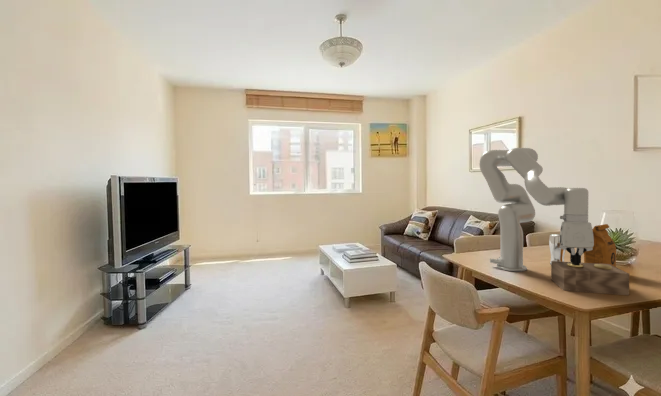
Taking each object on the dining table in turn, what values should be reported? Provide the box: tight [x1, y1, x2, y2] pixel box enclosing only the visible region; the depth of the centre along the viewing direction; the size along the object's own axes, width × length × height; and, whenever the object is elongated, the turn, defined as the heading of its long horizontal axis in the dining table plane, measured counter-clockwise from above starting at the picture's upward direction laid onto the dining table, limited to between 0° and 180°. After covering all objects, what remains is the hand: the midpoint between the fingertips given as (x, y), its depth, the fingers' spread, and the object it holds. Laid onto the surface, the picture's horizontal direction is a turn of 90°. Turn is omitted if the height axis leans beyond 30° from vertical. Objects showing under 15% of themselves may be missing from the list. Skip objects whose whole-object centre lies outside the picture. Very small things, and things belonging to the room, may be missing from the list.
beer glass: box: [548, 233, 566, 265], centre depth 155 cm, size 7×7×15 cm
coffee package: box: [583, 223, 617, 268], centre depth 140 cm, size 10×12×22 cm
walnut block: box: [550, 260, 630, 296], centre depth 122 cm, size 20×14×9 cm
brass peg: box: [567, 263, 583, 268], centre depth 124 cm, size 5×5×8 cm
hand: (575, 264), depth 123 cm, fingers closed
